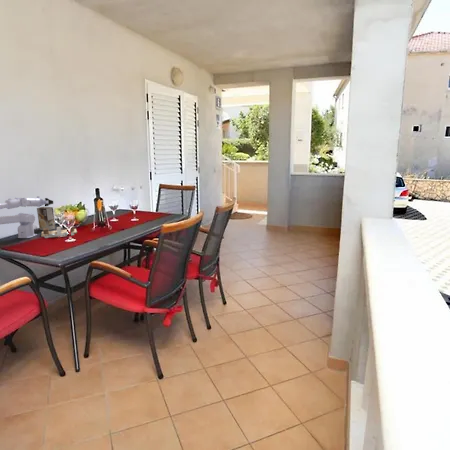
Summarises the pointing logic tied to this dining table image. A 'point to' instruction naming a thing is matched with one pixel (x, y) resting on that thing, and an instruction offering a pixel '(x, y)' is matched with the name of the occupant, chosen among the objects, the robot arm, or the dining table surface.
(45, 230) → the display stand
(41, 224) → the coffee box
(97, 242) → the dining table surface
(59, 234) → the glasses frame
